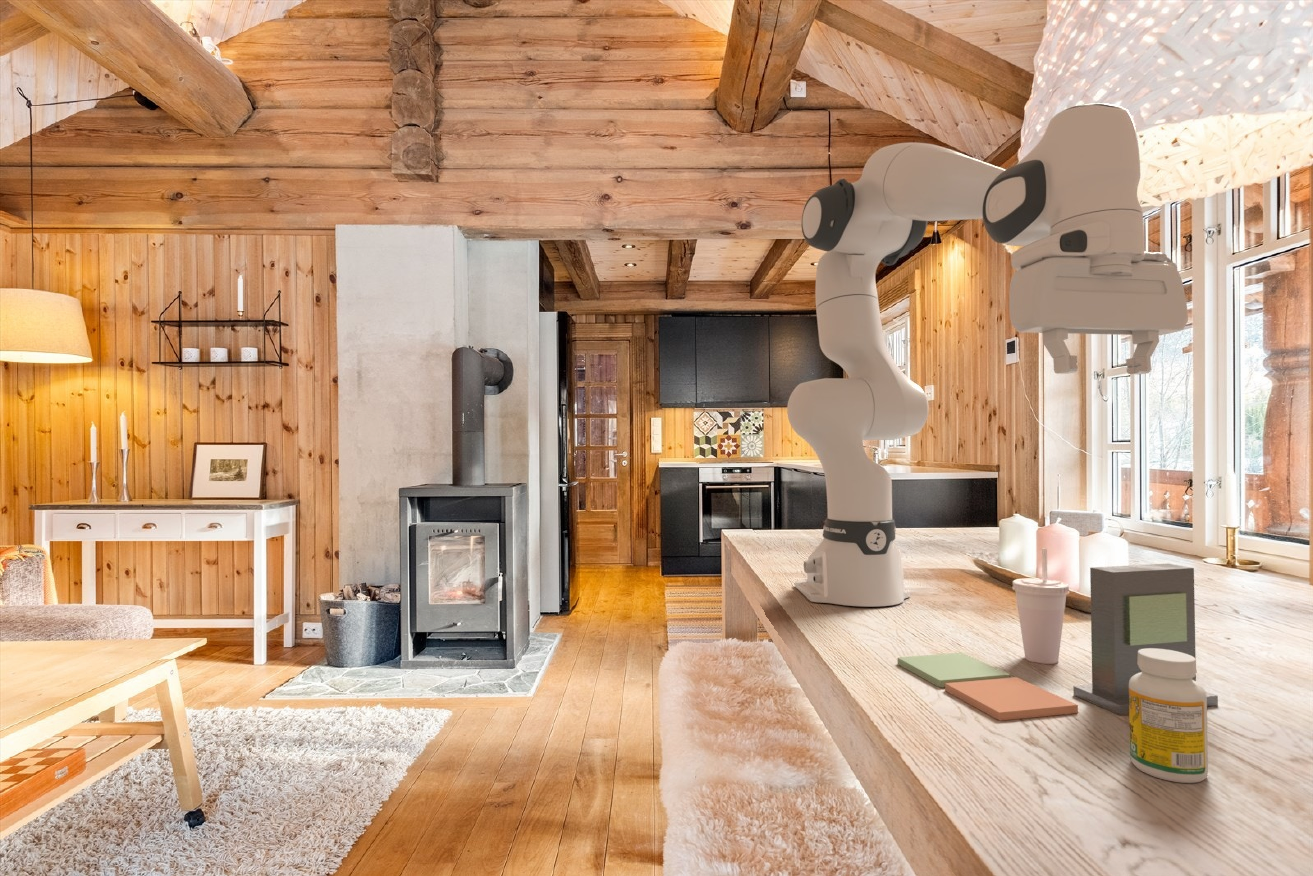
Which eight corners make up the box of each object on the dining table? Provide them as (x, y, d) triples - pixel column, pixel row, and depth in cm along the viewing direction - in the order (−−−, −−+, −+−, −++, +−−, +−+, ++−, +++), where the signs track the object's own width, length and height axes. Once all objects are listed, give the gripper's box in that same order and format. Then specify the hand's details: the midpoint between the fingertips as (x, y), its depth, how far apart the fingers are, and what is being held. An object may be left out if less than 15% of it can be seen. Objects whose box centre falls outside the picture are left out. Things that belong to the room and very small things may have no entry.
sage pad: (897, 664, 90) (897, 657, 90) (962, 658, 92) (961, 652, 92) (940, 687, 81) (939, 680, 81) (1010, 681, 83) (1010, 674, 83)
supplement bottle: (1197, 791, 56) (1194, 668, 57) (1119, 768, 61) (1117, 653, 61) (1216, 771, 60) (1214, 655, 60) (1142, 750, 64) (1140, 642, 64)
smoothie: (1078, 668, 87) (1076, 552, 87) (1021, 665, 89) (1019, 551, 89) (1060, 653, 94) (1058, 545, 94) (1007, 651, 95) (1005, 544, 95)
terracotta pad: (945, 690, 80) (945, 683, 80) (1016, 684, 82) (1016, 677, 82) (999, 720, 71) (999, 712, 71) (1078, 712, 73) (1077, 705, 73)
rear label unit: (1073, 695, 78) (1071, 565, 78) (1166, 686, 81) (1163, 561, 81) (1119, 715, 72) (1117, 575, 72) (1217, 705, 75) (1215, 570, 75)
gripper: (1150, 261, 85) (1156, 378, 84) (997, 254, 81) (1002, 376, 80) (1200, 244, 79) (1207, 370, 78) (1037, 235, 75) (1044, 368, 74)
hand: (1102, 373), depth 79 cm, fingers open, 8 cm apart
